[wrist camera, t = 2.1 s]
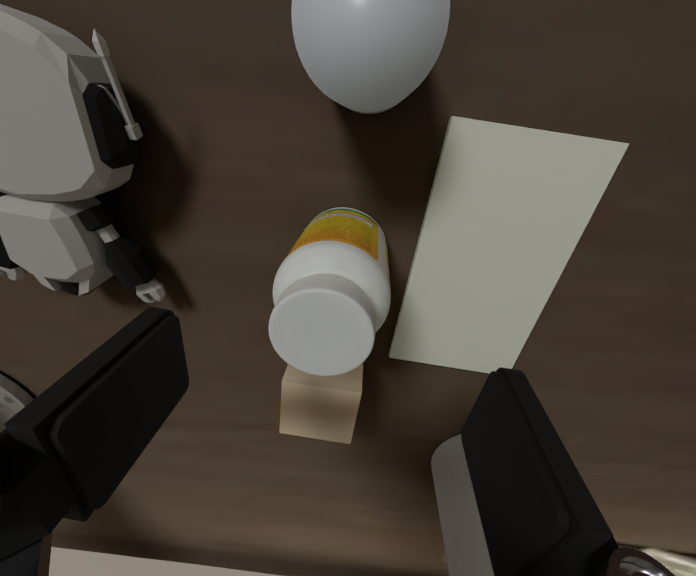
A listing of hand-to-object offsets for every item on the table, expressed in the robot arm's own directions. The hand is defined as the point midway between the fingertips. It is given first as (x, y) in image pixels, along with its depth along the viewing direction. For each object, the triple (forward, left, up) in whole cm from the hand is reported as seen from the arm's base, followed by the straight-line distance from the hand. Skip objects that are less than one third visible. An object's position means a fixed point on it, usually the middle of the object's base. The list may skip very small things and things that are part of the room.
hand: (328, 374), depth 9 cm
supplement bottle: (0, +1, -12) cm, 12 cm away
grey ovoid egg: (+10, +1, -12) cm, 15 cm away
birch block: (-10, +1, -12) cm, 16 cm away
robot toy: (+2, +17, -12) cm, 21 cm away
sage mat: (0, -8, -12) cm, 14 cm away
